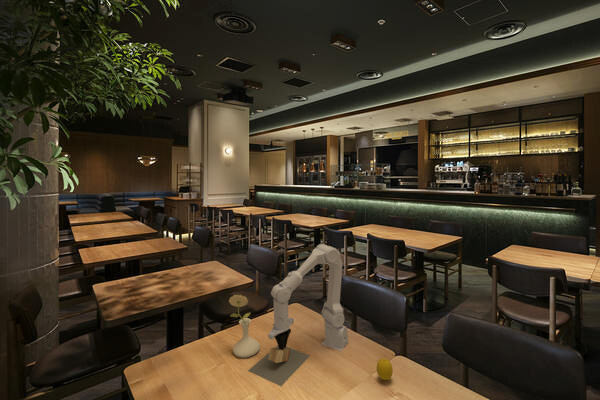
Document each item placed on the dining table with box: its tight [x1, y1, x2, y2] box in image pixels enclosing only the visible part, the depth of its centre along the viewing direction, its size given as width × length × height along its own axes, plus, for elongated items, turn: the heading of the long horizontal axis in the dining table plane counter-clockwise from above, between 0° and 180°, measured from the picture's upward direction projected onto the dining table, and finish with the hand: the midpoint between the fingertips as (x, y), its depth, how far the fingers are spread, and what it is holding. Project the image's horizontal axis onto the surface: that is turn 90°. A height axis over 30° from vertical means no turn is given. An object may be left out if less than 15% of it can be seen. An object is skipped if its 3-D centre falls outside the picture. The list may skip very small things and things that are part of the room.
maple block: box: [268, 347, 290, 363], centre depth 115 cm, size 4×4×8 cm
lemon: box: [376, 358, 394, 381], centre depth 105 cm, size 6×6×8 cm
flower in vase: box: [228, 294, 261, 358], centre depth 124 cm, size 13×11×25 cm
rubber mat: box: [247, 345, 311, 387], centre depth 116 cm, size 16×20×1 cm
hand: (282, 347), depth 117 cm, fingers closed
